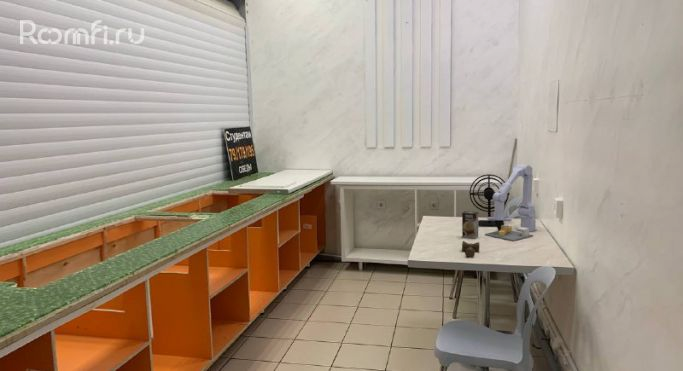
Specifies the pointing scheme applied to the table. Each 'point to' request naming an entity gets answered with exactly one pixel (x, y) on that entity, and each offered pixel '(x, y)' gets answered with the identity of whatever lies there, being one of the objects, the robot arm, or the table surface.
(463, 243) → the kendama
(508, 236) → the base
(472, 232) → the coffee box
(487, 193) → the desk fan
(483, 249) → the table surface
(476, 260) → the table surface
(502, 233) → the link
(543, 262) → the table surface
